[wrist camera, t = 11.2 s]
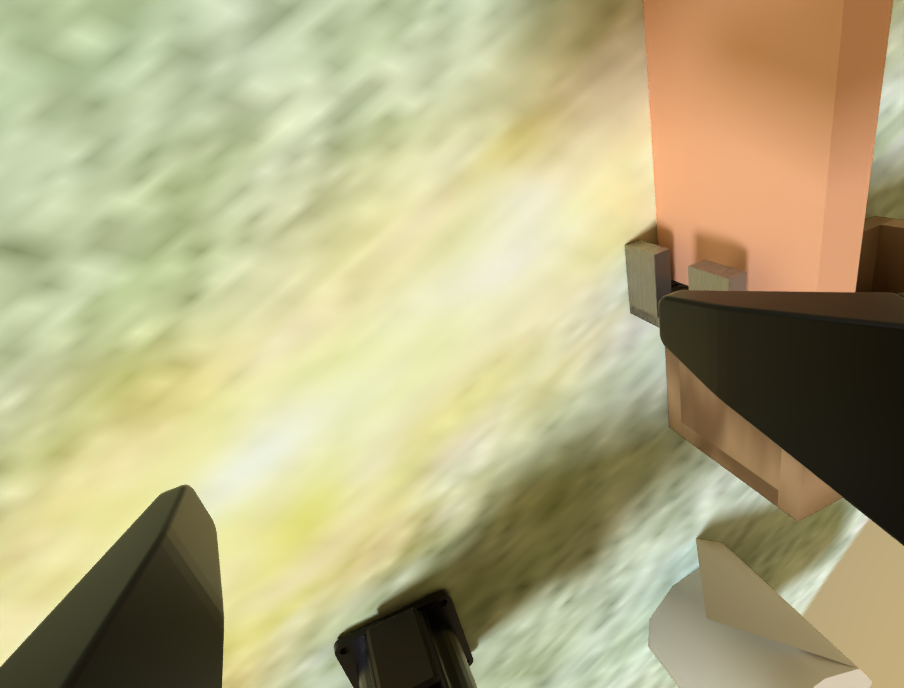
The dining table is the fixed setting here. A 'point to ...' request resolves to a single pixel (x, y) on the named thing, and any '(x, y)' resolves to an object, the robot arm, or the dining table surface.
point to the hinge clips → (654, 278)
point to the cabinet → (737, 441)
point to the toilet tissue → (741, 633)
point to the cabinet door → (765, 134)
